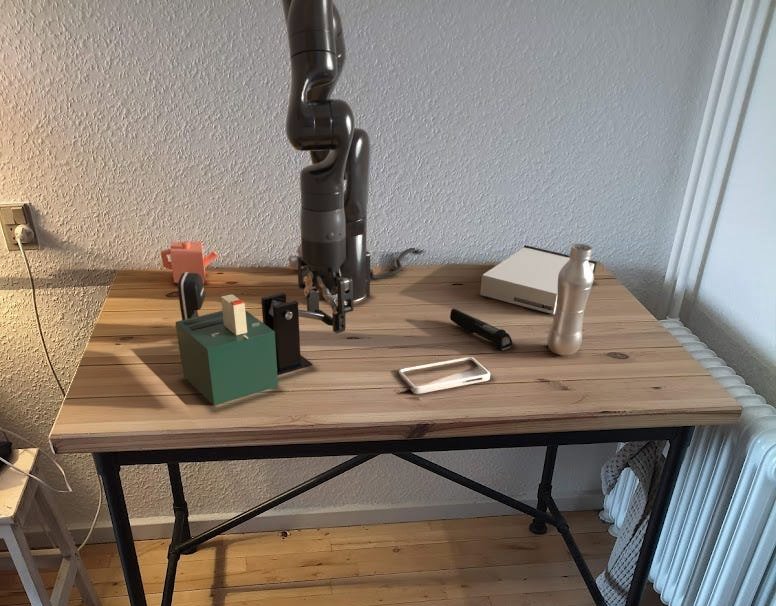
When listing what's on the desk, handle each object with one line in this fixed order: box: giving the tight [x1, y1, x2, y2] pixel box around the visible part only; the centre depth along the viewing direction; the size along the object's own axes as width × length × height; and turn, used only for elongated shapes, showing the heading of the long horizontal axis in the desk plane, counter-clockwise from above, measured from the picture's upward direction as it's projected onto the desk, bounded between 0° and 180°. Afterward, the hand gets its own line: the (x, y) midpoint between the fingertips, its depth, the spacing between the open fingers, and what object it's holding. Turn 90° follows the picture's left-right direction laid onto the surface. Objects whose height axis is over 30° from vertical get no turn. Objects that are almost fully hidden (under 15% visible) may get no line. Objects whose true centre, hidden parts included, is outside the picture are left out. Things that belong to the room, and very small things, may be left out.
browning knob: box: [220, 294, 247, 335], centre depth 124 cm, size 4×2×5 cm, turn 36°
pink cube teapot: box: [160, 240, 219, 285], centre depth 167 cm, size 8×12×8 cm, turn 102°
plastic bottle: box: [546, 243, 595, 356], centre depth 141 cm, size 6×7×20 cm
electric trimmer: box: [449, 308, 513, 351], centre depth 151 cm, size 4×16×3 cm, turn 39°
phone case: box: [398, 356, 491, 395], centre depth 137 cm, size 7×1×15 cm
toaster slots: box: [183, 312, 224, 330], centre depth 128 cm, size 9×4×1 cm, turn 126°
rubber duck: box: [288, 243, 302, 271], centre depth 173 cm, size 5×7×8 cm
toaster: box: [175, 309, 279, 406], centre depth 129 cm, size 12×12×11 cm
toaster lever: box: [269, 300, 333, 327], centre depth 135 cm, size 12×5×2 cm, turn 126°
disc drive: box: [479, 244, 598, 315], centre depth 170 cm, size 18×22×5 cm
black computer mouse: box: [177, 272, 206, 320], centre depth 145 cm, size 7×4×11 cm, turn 2°
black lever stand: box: [260, 292, 313, 377], centre depth 135 cm, size 8×7×13 cm
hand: (325, 323), depth 139 cm, fingers open, 8 cm apart
